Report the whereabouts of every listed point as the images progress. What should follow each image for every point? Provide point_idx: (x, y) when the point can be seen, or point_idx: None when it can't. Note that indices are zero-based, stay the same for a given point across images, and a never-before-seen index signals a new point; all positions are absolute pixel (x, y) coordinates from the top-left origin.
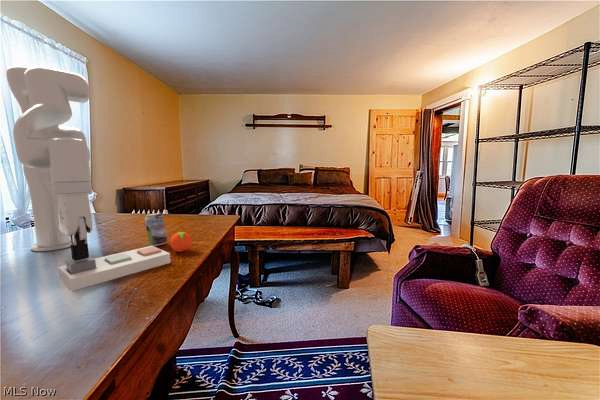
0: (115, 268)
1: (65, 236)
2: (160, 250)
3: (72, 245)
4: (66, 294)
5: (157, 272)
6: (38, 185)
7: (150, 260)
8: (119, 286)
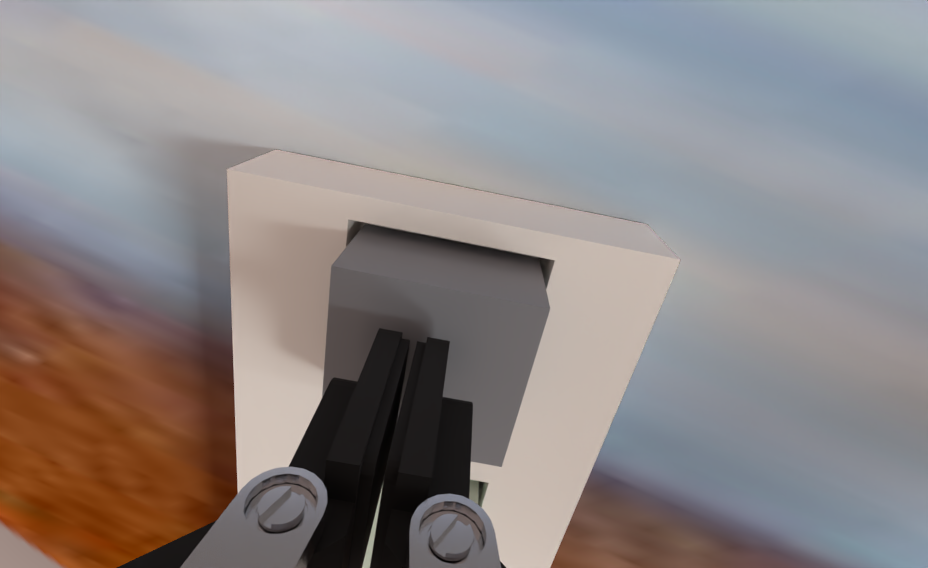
0: (239, 433)
1: None
2: None
3: (355, 473)
4: (244, 101)
5: (182, 511)
6: None
7: None
8: (124, 330)
